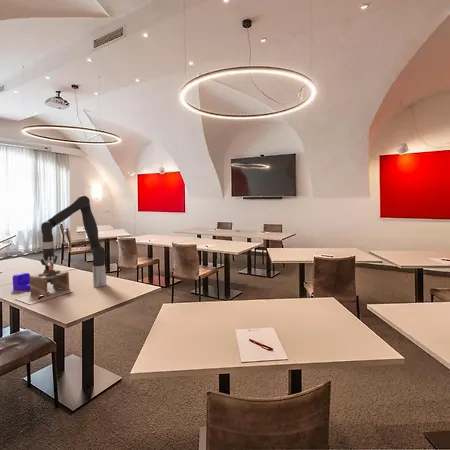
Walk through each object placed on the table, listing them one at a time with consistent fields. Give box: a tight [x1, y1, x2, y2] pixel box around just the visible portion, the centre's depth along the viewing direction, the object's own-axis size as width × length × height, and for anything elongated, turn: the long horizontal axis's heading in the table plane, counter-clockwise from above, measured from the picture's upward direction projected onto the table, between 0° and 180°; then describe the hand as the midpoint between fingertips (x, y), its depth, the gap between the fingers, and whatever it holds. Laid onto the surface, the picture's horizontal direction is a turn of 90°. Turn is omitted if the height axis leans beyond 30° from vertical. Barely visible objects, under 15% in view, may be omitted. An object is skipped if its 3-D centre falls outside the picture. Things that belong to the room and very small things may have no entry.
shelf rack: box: [30, 269, 70, 297], centre depth 224 cm, size 20×16×15 cm
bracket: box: [12, 272, 31, 292], centre depth 231 cm, size 18×11×12 cm, turn 73°
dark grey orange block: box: [42, 264, 57, 285], centre depth 224 cm, size 4×9×14 cm, turn 67°
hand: (49, 269), depth 223 cm, fingers open, 3 cm apart
